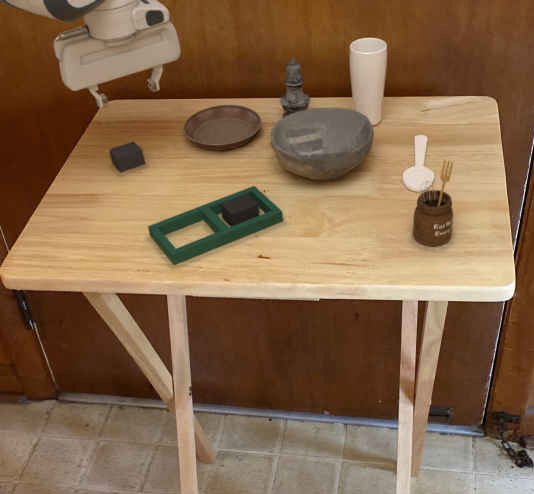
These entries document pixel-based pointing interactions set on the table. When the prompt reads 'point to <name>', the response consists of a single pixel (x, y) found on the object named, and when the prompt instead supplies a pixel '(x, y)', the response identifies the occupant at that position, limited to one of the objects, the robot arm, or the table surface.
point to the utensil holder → (434, 213)
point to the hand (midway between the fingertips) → (129, 98)
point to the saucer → (222, 126)
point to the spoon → (418, 168)
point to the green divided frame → (213, 226)
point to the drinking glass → (368, 76)
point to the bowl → (322, 141)
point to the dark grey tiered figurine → (294, 90)
